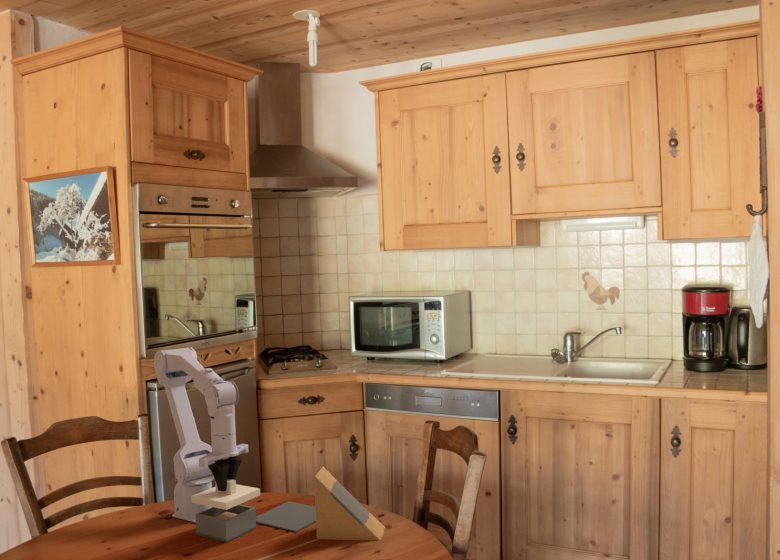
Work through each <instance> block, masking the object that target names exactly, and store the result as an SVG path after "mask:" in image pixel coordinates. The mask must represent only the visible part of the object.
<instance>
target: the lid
mask: <svg viewBox="0 0 780 560" xmlns="http://www.w3.org/2000/svg"><path fill="white" fill-rule="evenodd" d="M214 482H215V486H212V488H211V489H208V490H205V491H203V492H200V493H198V494H195V495H193V496H191V499H192V503H196V504H200V505H205V506H210V507H215V508H219V509H224V510H227V509H230V508H232V507H234V506H237V505H239V504H241V505H242V504H243V503H247V502H248V501H250V500H253V499H254V498H257V497H259V496H261V488H258V487H255V486H254V487H252V486H249V485H243V484H237V480H236V479H235V480H232V479H227V489H226V491H218V487H217V484H216V481H214Z"/></svg>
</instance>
